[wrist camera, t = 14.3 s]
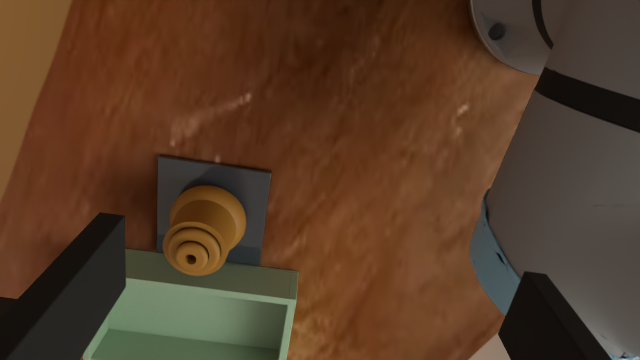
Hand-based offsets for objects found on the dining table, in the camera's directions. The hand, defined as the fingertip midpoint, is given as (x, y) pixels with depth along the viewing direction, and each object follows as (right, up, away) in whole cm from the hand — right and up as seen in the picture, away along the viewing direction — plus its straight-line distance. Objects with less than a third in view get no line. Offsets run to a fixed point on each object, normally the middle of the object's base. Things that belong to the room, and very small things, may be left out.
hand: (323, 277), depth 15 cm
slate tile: (-11, 0, +31) cm, 33 cm away
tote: (-14, -11, +36) cm, 40 cm away
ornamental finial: (-11, 0, +31) cm, 33 cm away
